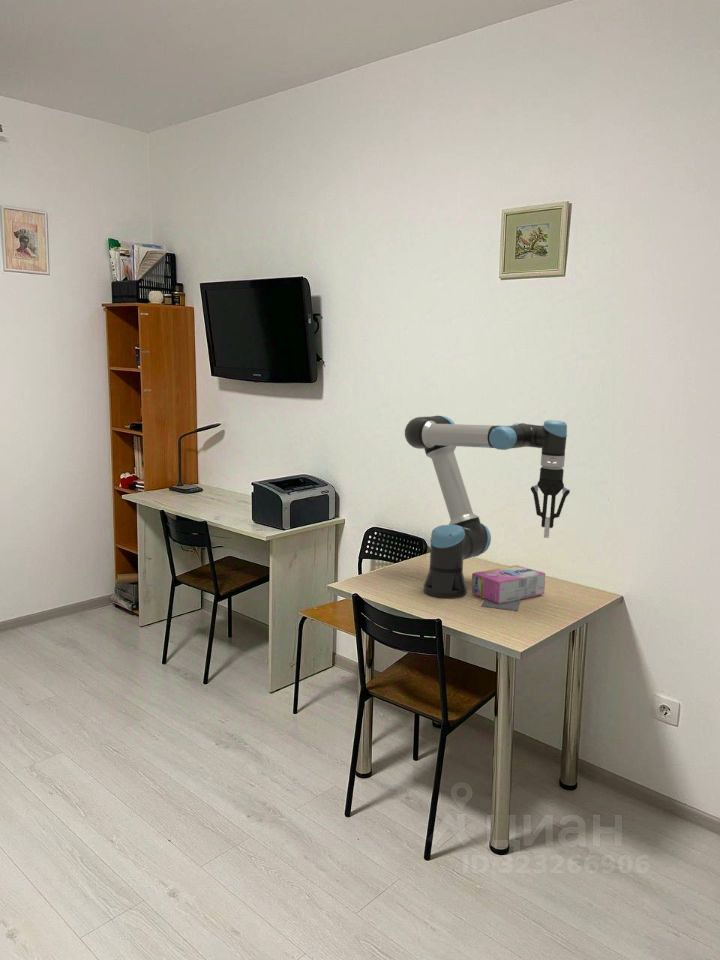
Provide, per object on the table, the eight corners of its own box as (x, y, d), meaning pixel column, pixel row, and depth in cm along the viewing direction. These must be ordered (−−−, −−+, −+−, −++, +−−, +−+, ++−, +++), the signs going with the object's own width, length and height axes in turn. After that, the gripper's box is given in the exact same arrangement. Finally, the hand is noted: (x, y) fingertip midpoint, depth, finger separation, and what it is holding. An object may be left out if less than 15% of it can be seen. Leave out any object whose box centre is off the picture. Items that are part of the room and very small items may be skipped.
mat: (480, 606, 250) (481, 605, 250) (489, 589, 269) (489, 588, 269) (517, 611, 246) (517, 610, 246) (523, 593, 265) (523, 592, 265)
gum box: (547, 593, 265) (519, 584, 276) (548, 572, 263) (520, 563, 275) (498, 604, 251) (471, 594, 263) (499, 581, 250) (472, 572, 261)
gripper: (530, 467, 245) (525, 537, 249) (572, 470, 241) (565, 541, 245) (533, 464, 252) (527, 532, 256) (572, 467, 248) (566, 536, 252)
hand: (546, 536), depth 250 cm, fingers closed
